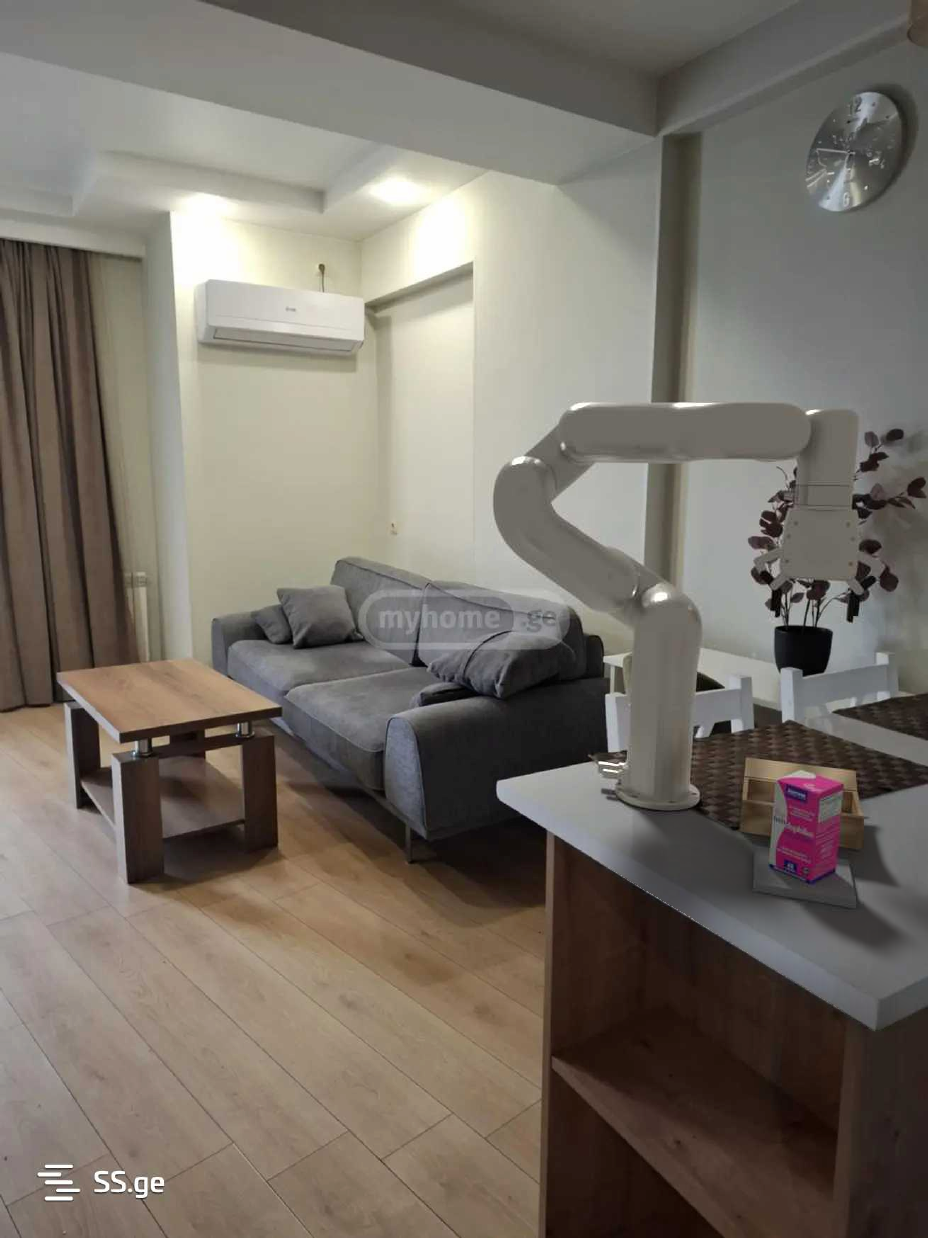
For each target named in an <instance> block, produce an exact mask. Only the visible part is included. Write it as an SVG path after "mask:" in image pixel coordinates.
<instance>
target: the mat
mask: <svg viewBox="0 0 928 1238" xmlns="http://www.w3.org/2000/svg"><path fill="white" fill-rule="evenodd" d="M769 855H770V847H767V846H766V847H765V846H762V845H761V846H759V845H755V846H754V860H753V861H754V863H753V878H752V879H753V882H752V883H753V884H752V892H757V893H764V894H769V895H774V896H781V897H787V898H791V899H792V898H793V899H798V900H803V901H810V902H815V903H820V904H821V903H822V904H827V905H833V906H839V907H845V908H850V909H855V910H856V909H857V895H856V891H855V885H854V882H853V876H852V872H851V867H850V863H849V859H843V858H837V863H836V872H835V873H833V874H831V875H828V876H826V877H824V878H822V879H820V880H818V881H816V882H814V883H812V884H808V883H806V882H804V881H802V880H800V879H798V878H796V877H793V876H791V875H789V874H786V873H784V872H782V871H779V870H777V869H774V868H771V867H769Z"/></svg>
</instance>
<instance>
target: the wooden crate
mask: <svg viewBox="0 0 928 1238" xmlns="http://www.w3.org/2000/svg"><path fill="white" fill-rule="evenodd" d="M744 766H745V767H744V776H743V777H744V778H743V785H742V786H743V787H742V797H741V808H740V809H741V810H740V822H739V832H740V833H746V834H753V835H760V836H766V837H771V832H772V820H773V808H774V796H775V784H776V779H779V778H781V777H784V776H787V775H790V774H792V773H794V772H797V771H799V770H803V771H806V772H809V773H812V774H815V775H819V776H822V777H825V778H828V779H831V780H834V781H837V782H840V783H843V784H844V790H843V799H842V810H841V821H840V831H839V842H838V848H845V849H852V850H858V851H859V850H860V851H861V850H862V845H863V844H862V843H863V833H864V826H865V825H864V824H865V823H864V821H865V820H870V817H869V816H865V815H864V813H863V808H862V805H861V801H860V797H859V794H858V786H857V785H858V783H857V774H856V773H857V772H856V770H853V769H852V770H851V769H844V768H834V767H828V766H827V767H826V766H819V765H810V764H802V763H796V762H795V763H794V762H786V761H777V760H769V759H762V758H761V759H760V758H754V757H745V765H744Z"/></svg>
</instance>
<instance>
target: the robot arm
mask: <svg viewBox="0 0 928 1238" xmlns="http://www.w3.org/2000/svg"><path fill="white" fill-rule="evenodd" d="M859 429H860V417H859V415H858V413H857V412H856V411H855V410H852V409H849V408H844V407H843V408H840V407H839V408H838V407H835V408H834V407H830V408H815V409H811V410H808V411H806V412H805V411H804V410H803V409H801V407H798V406H796V405H795V404H791V403H788V402H753V401H751V402H743V401H742V402H741V401H740V402H735V401H734V402H621V401H619V402H617V401H616V402H610V401H609V402H607V401H606V402H604V401H602V402H599V401H596V402H593V401H592V402H591V401H589V402H580V403H577V404H574V405H572V406H570V407H569V408H567V409H566V410H565V411H564V412H563V414H562V415H561V416H560V419H559V421H558V424H556V426H554V427H553V428H552V429H551V430H550V431H549V432H548V433H547V434H546V435H545V436H544V437H543V438H542V439H541V440H539V441H538V442H537V443H535V445H533V447H531V448H530V449H529V450H528V451H526V452H525V454H523V455H522V456H519V457H515V458H513V459H511V460H509V461H508V462H507V463H505V464H504V465H503V466H502V467H501V469H500V470H499V472H498V473H497V476H496V478H495V482H494V486H493V492H492V493H493V494H492V495H493V496H492V508H493V510H492V511H493V517H494V521H495V524H496V528H497V529H498V532H499V535H500V536H501V537H502V539H503V541H504V542H505V544H506V545H507V546H508V547H509V549H510V550H511V551H512V553H514V554H515V555H517V557H519V558H520V559H521V560H522V561H524V562H525V563H526V564H527V565H530V566H531V567H532V568H534V569H536V570H535V571H538V572H539V573H540V574H542V575H544V577H546V578H548V579H549V580H550V581H551V582H553V583H555V584H556V585H557V586H559V587H560V588H562V589H563V590H565V591H566V592H568V593H569V594H570V595H572V596H573V597H574V598H576V599H577V600H579V601H580V602H581V603H582V604H583V605H584V606H586V607H588V608H589V609H591V610H594V611H595V612H598V613H603V614H604V613H606V614H607V615H608V616H610V617H612V618H613V619H615V620H617V622H619V623H621V624H622V625H624V626H625V627H627V628H628V629H630V630H632V631H633V649H632V658H631V670H630V689H629V696H630V697H629V713H628V716H629V717H628V728H627V729H628V730H627V731H628V732H627V749H626V750H627V751H626V752H627V753H626V760H625V762H623V761H620V762H619V763H612V762H610V761H601V760H599V761H598V765H597V773H598V774H600V775H602V778H604V779H607V780H608V779H610V780H611V779H612V780H617V781H616V783H615V785H614V794H615V795H616V796H617V797H618V799H620V800H622V801H623V802H625V803H627V804H630V805H633V806H636V807H638V808H644V809H648V810H654V811H680V810H686V809H689V808H692V807H693V808H694V806H696V805H697V804H698V803H700V802H699V801H700V798H701V797H700V795H701V793H700V790H699V789H698V788H697V787H696V786H695V785H693V784H692V783H691V768H692V756H693V754H692V753H693V739H694V726H695V725H694V723H695V708H696V690H697V676H698V668H699V667H698V666H699V661H700V652H701V647H702V642H703V641H702V640H703V622H702V616H701V614H700V610H699V609H698V607H697V605H696V604H695V603H694V601H693V600H692V599H691V598H690V597H689V596H688V595H687V594H686V593H684V592H683V591H682V590H680V588H678V587H676V586H675V585H674V584H672V583H671V582H669V581H667V580H666V579H664V578H662V577H661V576H659V575H658V574H656V573H655V572H653V571H652V570H650V569H649V568H648V567H646V566H644V565H643V564H641V563H640V562H638V561H637V560H635V558H632V557H631V556H630V555H629V554H627V553H625V552H624V551H622V550H620V549H618V548H616V547H613V546H607V545H604V544H602V543H600V542H599V541H597V540H595V539H594V538H592V537H591V536H589V535H587V534H586V533H585V532H584V531H582V530H581V529H579V528H578V527H577V526H575V525H574V524H572V523H570V522H569V521H568V520H566V519H564V518H563V517H562V516H561V515H559V513H558V512H557V511H556V510H555V508H554V506H553V504H552V502H553V501H555V499H556V498H558V497H559V496H560V495H561V494H562V493H563V492H565V491H566V490H567V489H568V488H569V487H570V486H572V485H573V484H574V483H575V482H577V480H578V479H580V478H581V477H582V476H583V475H584V474H585V473H586V472H588V470H590V469H591V468H592V467H593V466H594V465H595V464H596V463H602V464H603V463H609V464H612V463H614V464H615V463H616V464H618V463H620V464H624V463H626V464H662V465H663V464H664V465H665V464H668V465H669V464H683V463H689V462H691V463H692V462H696V461H706V460H709V461H711V460H753V461H756V462H760V463H775V462H782V461H783V462H784V461H788V460H790V461H792V460H796V461H797V463H796V466H797V467H796V474H795V475H796V477H795V487H793V488H791V489H784V493H783V500H789V501H791V502H793V503H794V505H793V507H792V508H791V507H788V509H787V512H786V516H785V518H784V524H783V525H784V526H783V529H782V535H781V544H780V546H779V547H777V548H775V549H772V550H770V551H768V552H765V553H763V554H760V555H758V556H756V557H754V558H753V563H754V566H755V568H756V570H757V572H758V574H759V576H760V578H761V579H762V580H763V582H764V583H766V584H767V586H769V587H770V590H771V599H770V609H769V611H771V612H774V618H777V619H778V618H780V617H781V612H782V611H781V608H782V596H783V589H782V585H783V584H784V583H785V582H786V581H787V580H788V579H794V580H795V579H796V580H812V581H814V580H815V581H833V582H835V581H837V582H846V583H847V585H848V586H849V588H850V592H848V594H847V605H846V616H845V619H846V622H848V624H849V623H852V624H853V622H854V617H859V613H860V603H861V595H862V594H863V593H865V592H866V590H868V589H870V588H871V586H873V585H874V584H875V583H876V582H877V581H878V579H879V578H880V576H881V574H882V573H883V572H884V571H885V569H886V565H885V564H884V563H883V562H882V561H881V560H880V561H879V560H878V559H876V558H875V557H872V556H871V555H868V554H867V553H865V552H863V551H862V550H860V549H859V547H860V544H859V543H860V525H859V524H860V523H859V522H860V521H859V513H858V509H852V505H853V494H854V484H855V474H856V473H855V472H856V465H857V463H856V461H857V450H858V442H859V441H858V440H859ZM778 558H779V565H778V566H779V567H778V568H779V573H778V574H777V575H776V576H773V574H771V572H769V570H768V569H767V566H766V564H767V563H768V562H770V561H773V560H776V559H778ZM859 562H861V563H862V564H864V565H866V566H868V567H870V571H869V573H868V574H867V576H865V577H864V578H863V579H862V580H860V581H858V580H857V579H856V576H857V572H858V565H859Z"/></svg>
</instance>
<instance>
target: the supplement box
mask: <svg viewBox="0 0 928 1238" xmlns="http://www.w3.org/2000/svg"><path fill="white" fill-rule="evenodd" d="M843 790H844V784H843V783H840V782H837V781H834V780H831V779H828V778H825V777H822V776H819V775H815V774H812V773H809V772H806V771H803V770H799V771H797V772H794V773H792V774H790V775H787V776H784V777H781V778H779V779H776V784H775V796H774V808H773V820H772V832H771V836H770V846H769V848H770V855H769V867H771V868H774V869H777V870H779V871H782V872H784V873H786V874H789V875H791V876H793V877H796V878H798V879H800V880H802V881H804V882H806V883H808V884H812V883H814V882H816V881H818V880H820V879H822V878H824V877H826V876H828V875H831V874H833V873H835V872H836V863H837V859H838V852H839V851H838V849H839V847H838V842H839V831H840V821H841V810H842V799H843Z"/></svg>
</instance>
